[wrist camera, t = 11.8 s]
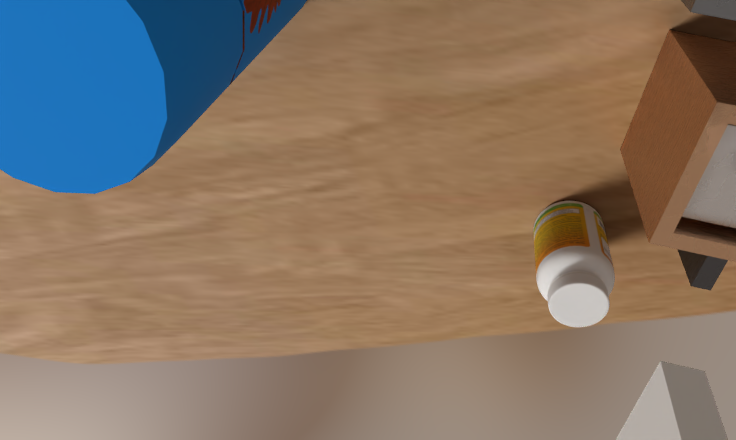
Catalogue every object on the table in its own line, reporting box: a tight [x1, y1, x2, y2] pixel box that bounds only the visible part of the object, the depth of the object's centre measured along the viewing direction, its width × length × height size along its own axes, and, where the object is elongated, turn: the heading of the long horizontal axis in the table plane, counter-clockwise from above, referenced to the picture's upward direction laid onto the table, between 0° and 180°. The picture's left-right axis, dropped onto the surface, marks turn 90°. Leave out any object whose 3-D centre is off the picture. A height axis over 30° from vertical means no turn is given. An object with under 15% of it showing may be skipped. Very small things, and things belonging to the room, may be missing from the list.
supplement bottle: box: [534, 201, 615, 327], centre depth 48 cm, size 5×5×10 cm
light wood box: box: [620, 30, 736, 290], centre depth 41 cm, size 12×9×12 cm
